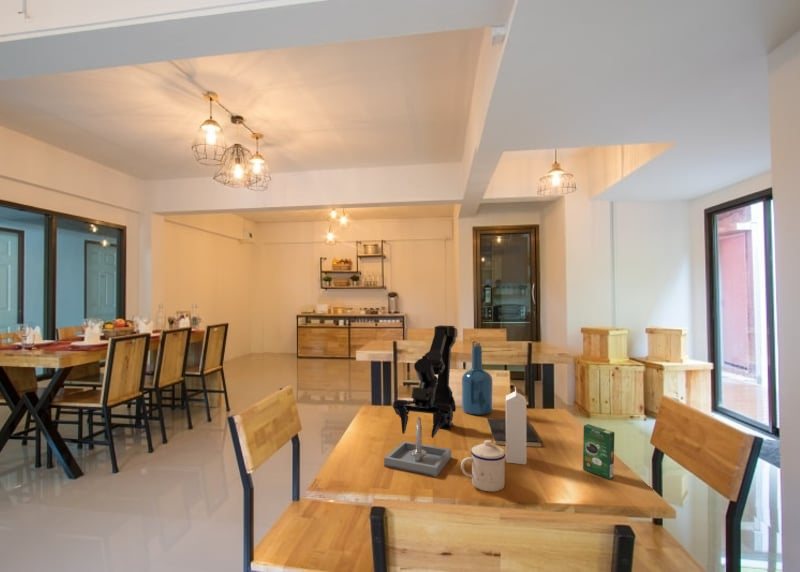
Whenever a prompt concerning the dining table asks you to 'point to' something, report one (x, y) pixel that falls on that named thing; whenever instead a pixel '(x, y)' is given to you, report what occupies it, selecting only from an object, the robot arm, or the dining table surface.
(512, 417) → the milk
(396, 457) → the tray
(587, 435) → the coffee box
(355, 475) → the dining table surface
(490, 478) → the teacup with lid
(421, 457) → the screw
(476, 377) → the wine bottle
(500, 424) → the hardcover book
